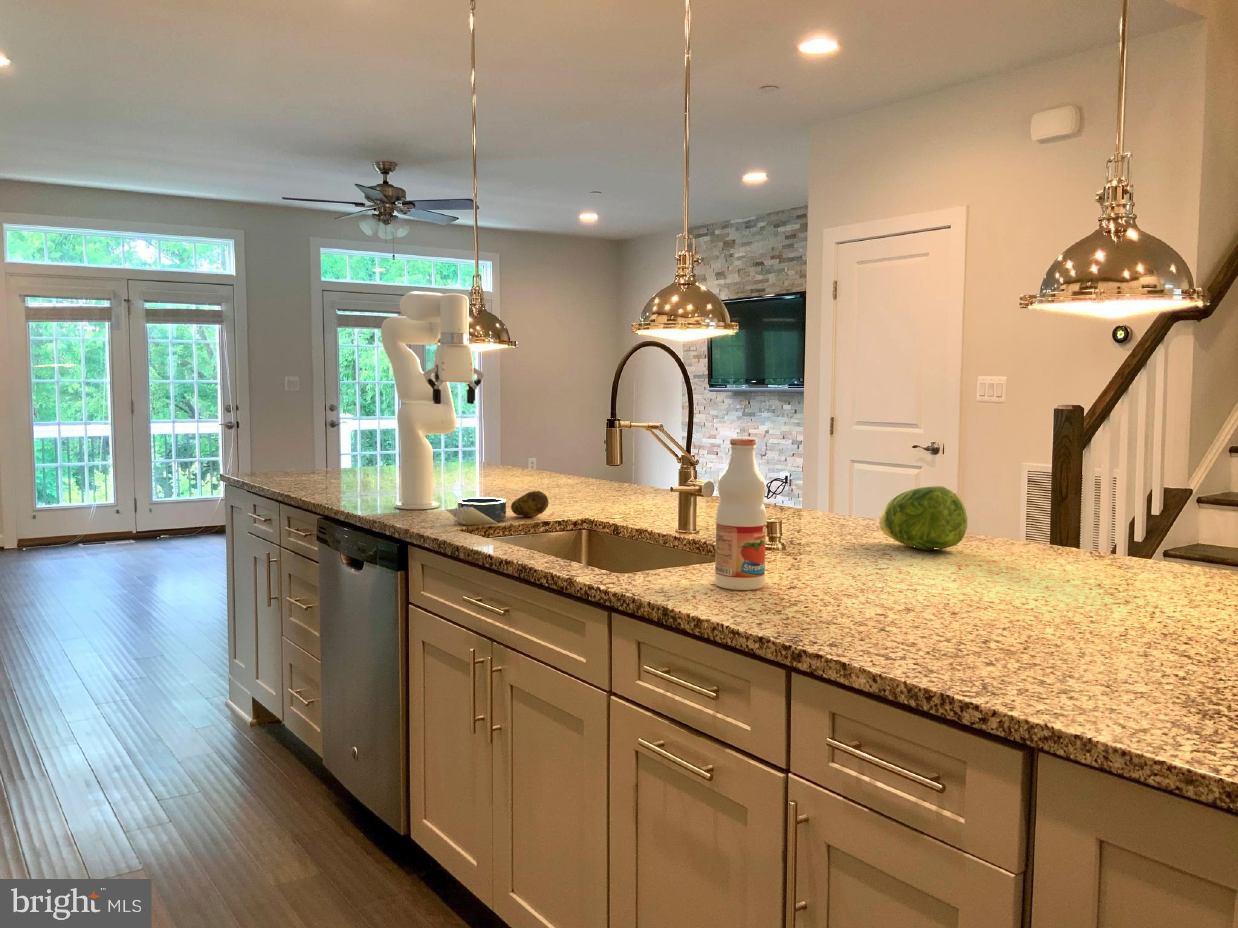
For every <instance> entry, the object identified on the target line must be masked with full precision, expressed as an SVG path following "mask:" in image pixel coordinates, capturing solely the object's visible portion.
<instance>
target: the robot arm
mask: <svg viewBox="0 0 1238 928" xmlns="http://www.w3.org/2000/svg"><path fill="white" fill-rule="evenodd" d="M399 310H400V312H401V313H402V315H403V316H401V315H399V316H391V317H388V318H386V319H385V320H383V322H382V324H381V327H380V328H381V329H380V337H381V338H380V339H381V343H382V346H383V350H384V352H385V354H386V356H387V358H388V360H389V362H390V364H391V369H392V374H393V379H394V384H395V390H396V393H397V396H398V398H399V400H400V401H401V402H402V403H404V404H403V405H401V407H400V408H399V409H398V411H397V416H396V418H397V420H396V421H397V426H398V431H399V432H398V433H399V439H400V484H401V485H400V486H401V487H400V488H401V489H400V492H401V494H400V495H401V500H400V501H399V502H397V503H396V504H395V507H396V509H400V510H432V509H436V508H439V502H436V501H434V451H433V447H432V445H431V443H430V442H429V440H428V439H427V438H426V436H429V435H431V436H432V435H433V436H434V435H435V436H436V435H449V434H452V433H453V432H454V431H455V429H456V426H457V415H456V410H455V405H454V401H453V397H452V392H451V387H450V384H449V383H465V384H466V386H467V387H468V388H466V403H467V404H469V405H475V400H476V389H477V388H478V387H479V386H480V385H481V384H482V381H483V379H484V376H485V373H484V372H482V371H481V370H479V369H477V368H475V366H474V359H473V352H472V351H473V350H472V348H471V345H469V344H470V343H472V342H473V341H474V338H473V336H470V334H469V310H470V309H469V298H468V296H467V295H465V294H461V293H446V294H443V293H439V292H429V291H410V292H407V293H405V294H404V295H403V296H402V297H401V298H400V301H399ZM438 341H439V344H437V345H436V349H435V353H434V362H433V363H434V364H433V367H431V368H429V369H427V370H425V371H423V370H422V368H421V362H420V359H419V357H418V356H417V355H416V354H415V352H414V351H413V350H411V348H409V347H408V346H407V345H419V346H421V345H423V346H424V345H425V346H432V345H435V344H436V343H438ZM474 375H476V379H474ZM405 403H406V404H405Z"/></svg>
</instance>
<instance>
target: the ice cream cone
mask: <svg viewBox="0 0 1238 928" xmlns="http://www.w3.org/2000/svg"><path fill="white" fill-rule="evenodd" d="M446 511H447V512H448V513H449V514H450V515H452V517H453V518H456V520H457V522H458V523H460V524H462V525H465V526H470V525H471V526H472V525H473V526H477V525H480V526H481V525H483V526H486V525H488V526H489V525H493V526H494V525H498V522H495V521H494V520H492V519H491V518H489V517H487V516H486V515H484V514H482V513H481V512H479V511H477V510H476V509H474V508H473V507H467V508H466V507H465V506H464V507H463V508H462V507H461V508H459V509H457V507H455V508H451V509H446Z"/></svg>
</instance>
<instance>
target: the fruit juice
mask: <svg viewBox="0 0 1238 928" xmlns="http://www.w3.org/2000/svg"><path fill="white" fill-rule="evenodd" d="M729 448H730V450H731V451H730V457H729V461H728V463H727V465H726V468H725V470H724V471H723V472H722V473H721V475H720V476H719V478H718V481H717V492H718V496H719V503H718V505H717V507H716V514H715V515H716V516H715V556H714V557H715V561H714V562H715V563H714V581H715V585H716V586H717V587H719V588H722V589H726V590H734V591H754V590H758V589H762V588H763V587H764V585H765V581H766V580H765V579H766V575H765V574H766V542H767V541H766V538H767V537H766V536H767V510H766V507H765V503H764V499H765V495H766V493H767V481H766V479H765V477H764V475H763V474H762V472H761V471H760V469H759V467H758V464H757V460H756V457H755V449H756V448H757V440H756V439H754V438H730V439H729Z"/></svg>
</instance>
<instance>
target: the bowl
mask: <svg viewBox="0 0 1238 928" xmlns="http://www.w3.org/2000/svg"><path fill="white" fill-rule="evenodd" d="M464 506H465V507H466V508H467V507H473V508H474V509H476V510H477V511H479V512H481V513H482V514H484V515H486V516H487V517H489V518H491V519H492V520H494V521H495V522H497V523H498V522H502V521H504V520H505V519H506V518H507V500H506V499H503V498H498V497H497V498H496V497H470V498H461V499H458V500H457V503H456V508H457V509H459V508H461V507H462V508H463V507H464Z"/></svg>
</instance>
